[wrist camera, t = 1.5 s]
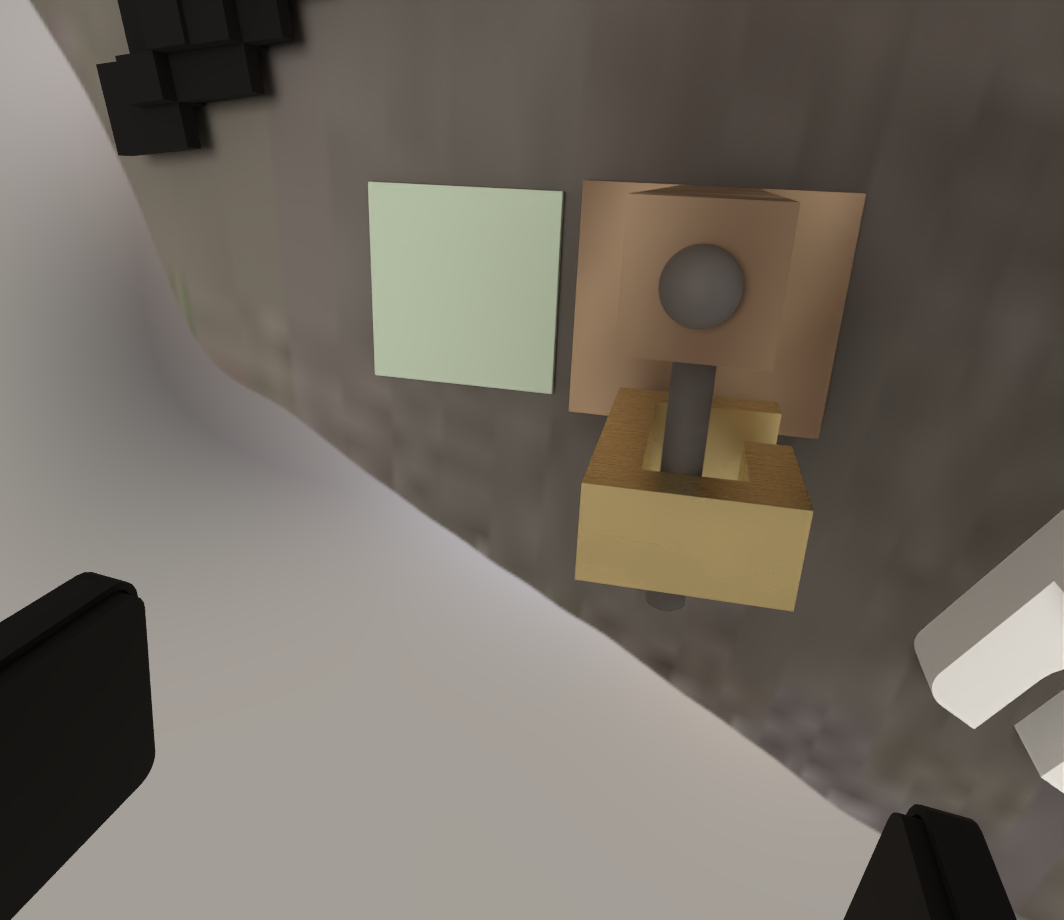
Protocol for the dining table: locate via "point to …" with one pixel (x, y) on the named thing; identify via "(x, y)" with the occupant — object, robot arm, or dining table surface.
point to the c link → (695, 506)
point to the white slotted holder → (1006, 646)
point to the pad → (466, 283)
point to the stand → (710, 305)
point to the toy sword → (185, 66)
